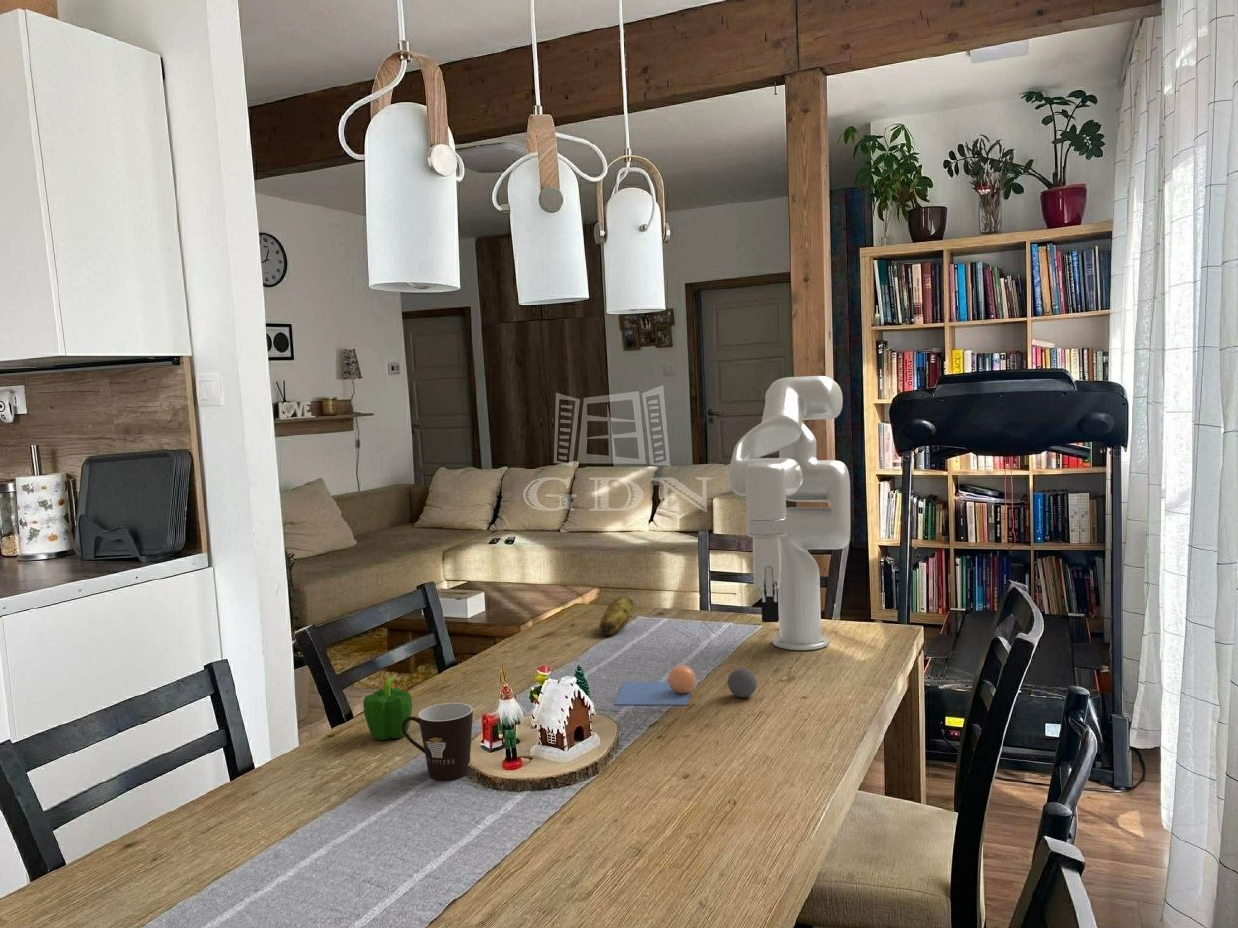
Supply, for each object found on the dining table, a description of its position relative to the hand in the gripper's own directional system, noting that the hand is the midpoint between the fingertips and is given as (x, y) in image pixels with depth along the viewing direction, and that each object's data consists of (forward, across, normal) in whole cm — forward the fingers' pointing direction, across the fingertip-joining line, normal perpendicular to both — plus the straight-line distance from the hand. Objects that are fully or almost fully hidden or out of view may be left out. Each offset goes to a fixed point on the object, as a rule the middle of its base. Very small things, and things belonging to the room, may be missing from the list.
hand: (770, 620), depth 181 cm
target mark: (+14, +1, -23) cm, 27 cm away
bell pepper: (+14, +25, -68) cm, 74 cm away
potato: (+15, -48, -38) cm, 63 cm away
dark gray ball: (+11, +2, -6) cm, 13 cm away
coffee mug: (+13, +40, -53) cm, 68 cm away
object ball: (+11, 0, -18) cm, 21 cm away
